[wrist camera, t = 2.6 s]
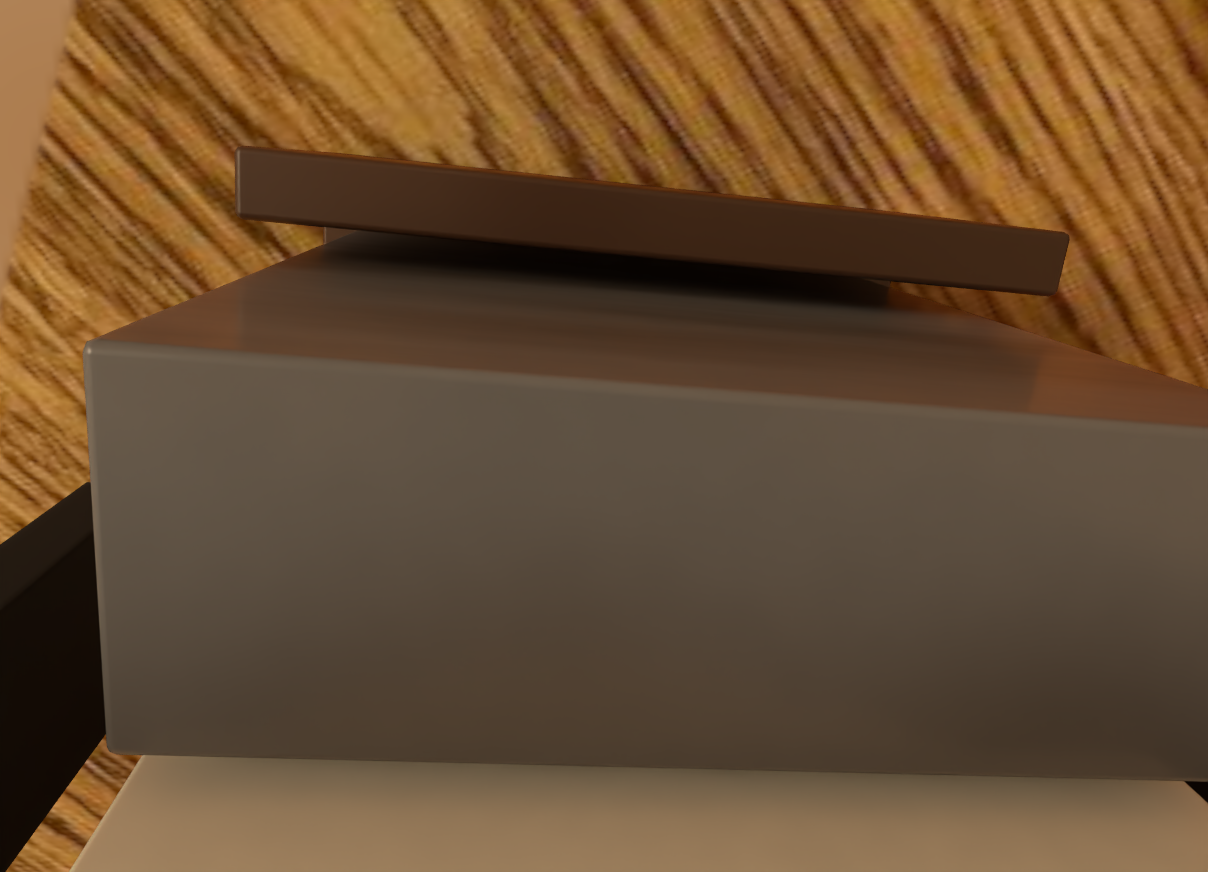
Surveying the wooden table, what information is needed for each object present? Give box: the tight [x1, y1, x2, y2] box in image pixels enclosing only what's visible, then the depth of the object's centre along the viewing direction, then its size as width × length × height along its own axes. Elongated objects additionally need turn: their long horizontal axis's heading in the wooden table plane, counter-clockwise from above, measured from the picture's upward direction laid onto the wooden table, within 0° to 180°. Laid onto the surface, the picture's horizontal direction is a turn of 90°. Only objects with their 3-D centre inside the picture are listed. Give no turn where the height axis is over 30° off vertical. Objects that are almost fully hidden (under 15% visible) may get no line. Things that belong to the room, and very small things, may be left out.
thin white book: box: [69, 755, 1208, 872], centre depth 12 cm, size 2×9×11 cm, turn 84°
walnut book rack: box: [83, 146, 1208, 782], centre depth 12 cm, size 11×10×11 cm
